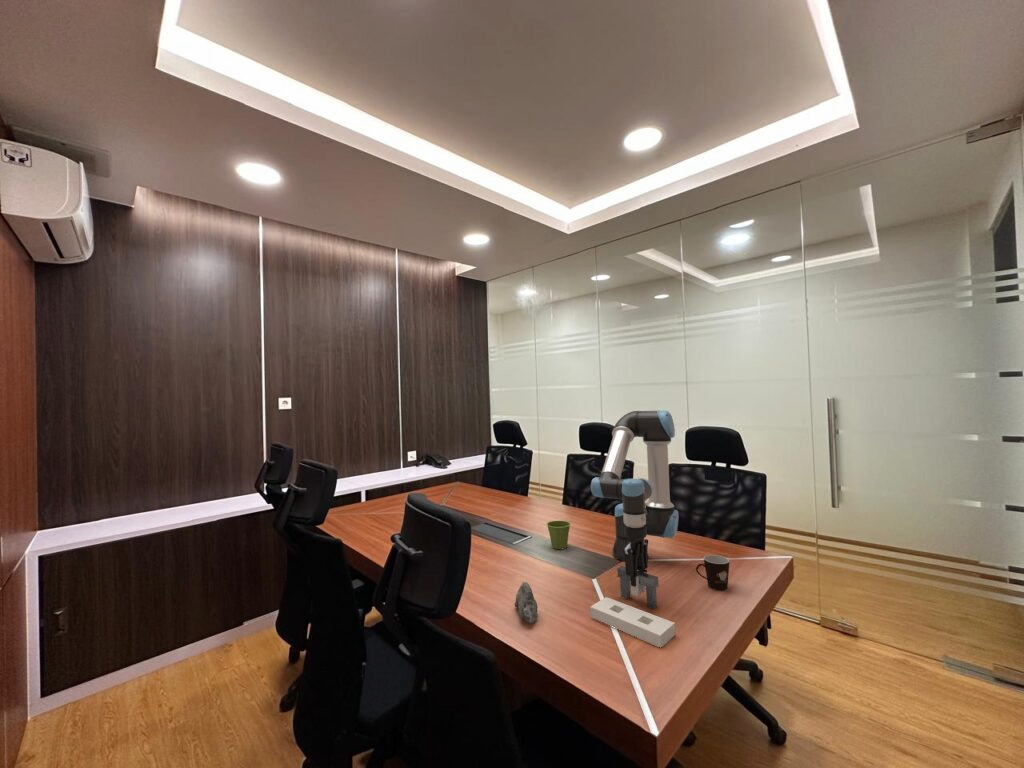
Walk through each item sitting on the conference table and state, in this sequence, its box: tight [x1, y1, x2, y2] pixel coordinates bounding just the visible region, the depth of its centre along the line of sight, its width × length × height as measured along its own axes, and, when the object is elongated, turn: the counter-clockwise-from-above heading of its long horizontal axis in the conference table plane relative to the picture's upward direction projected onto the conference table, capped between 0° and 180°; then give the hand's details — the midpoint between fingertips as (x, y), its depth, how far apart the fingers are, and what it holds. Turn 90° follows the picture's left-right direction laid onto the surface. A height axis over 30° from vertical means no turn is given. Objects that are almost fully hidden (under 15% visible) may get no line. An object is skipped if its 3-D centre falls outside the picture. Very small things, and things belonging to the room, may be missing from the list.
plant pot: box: [546, 520, 572, 550], centre depth 199 cm, size 12×12×11 cm
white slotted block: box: [589, 596, 676, 649], centre depth 128 cm, size 24×9×4 cm, turn 43°
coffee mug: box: [695, 554, 730, 592], centre depth 153 cm, size 12×9×10 cm
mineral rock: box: [514, 581, 538, 624], centre depth 136 cm, size 13×11×10 cm
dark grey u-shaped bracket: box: [617, 565, 660, 610], centre depth 143 cm, size 14×3×10 cm, turn 43°
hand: (638, 592), depth 143 cm, fingers closed on dark grey u-shaped bracket, 3 cm apart
